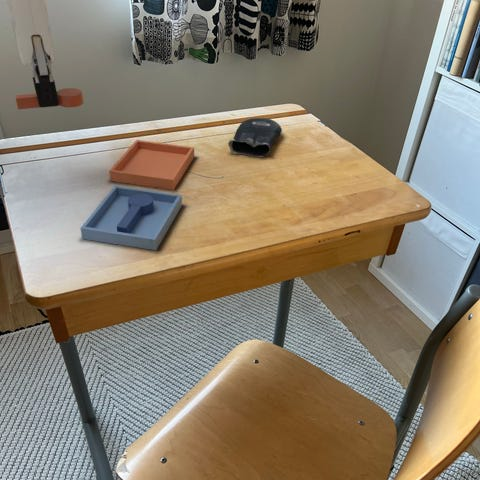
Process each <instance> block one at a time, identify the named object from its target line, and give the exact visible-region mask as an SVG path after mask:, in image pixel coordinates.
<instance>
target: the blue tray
mask: <svg viewBox="0 0 480 480" xmlns="http://www.w3.org/2000/svg"><path fill="white" fill-rule="evenodd" d="M136 194H147V195H150V196H151V197H152V198H153V205H154V210H153V212H152V213H150V214H148V215H143V216H141V218H140V219H139V221H138V222H137V224H136V225H135V227H134V228H133V230H132V231H131V233H130V234H129V233H123V232H117V225H118V224H119V222H120V221H121V220H122V218H123V217H124V215H125V214H126V213H127V211H128V210H129V207H128V199H129V197H131V196H132V195H136ZM182 206H183V195H182V194H177V193H171V192H163V191H155V190H149V189H143V188H135V187H128V186H123V185H113V187H112V188H111V190H109V192H108V193H107V194H106V196H105V197H104V198H103V199H102V201H101V202H100V203H99V204H98V206H97V207H96V208H95V210H94V211H93V212H92V213H91V214H90V215H89V216H88V218H86V221H85V222H83V224H82V225H81V227H79V228H80V233H81V238H82V240H89V241H94V242H101V243H106V244H114V245H120V246H126V247H133V248H139V249H145V250H152V251H157V250H158V248H159V246H160V244H161V243H162V241H163V240H164V237H165V236H166V234H167V233H168V231H169V229H170V227H171V226H172V224H173V222H174V220H175V218H176V217H177V216H178V213H179V211H180V210H181V208H182Z"/></svg>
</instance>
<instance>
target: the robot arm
mask: <svg viewBox="0 0 480 480" xmlns="http://www.w3.org/2000/svg"><path fill="white" fill-rule="evenodd" d="M6 1H7V7H8V11H9V15H10V20H11V24H12V29H13V33H14V38H15V41H16V42H15V43H16V45H17V46H16V47H17V50H18V55H19V57H20V62H21V64H22V65H23V66H25V67H28V64H29V65H30V67H31V71H32V75H33V76H32V82H33V87H34V91H35V94H37V98H38V103H39V106H40V107H39V108H51V107H59V106H58V105H59V102H58V96H57V91H58V90H57V86H56V81H55V79H54V76H53V72H52V67H51V65H53V64H54V63H55V53H54V46H53V45H54V44H53V37H52V31H51V26H50V19H49V15H48V9H47V3H46V0H6Z"/></svg>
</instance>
